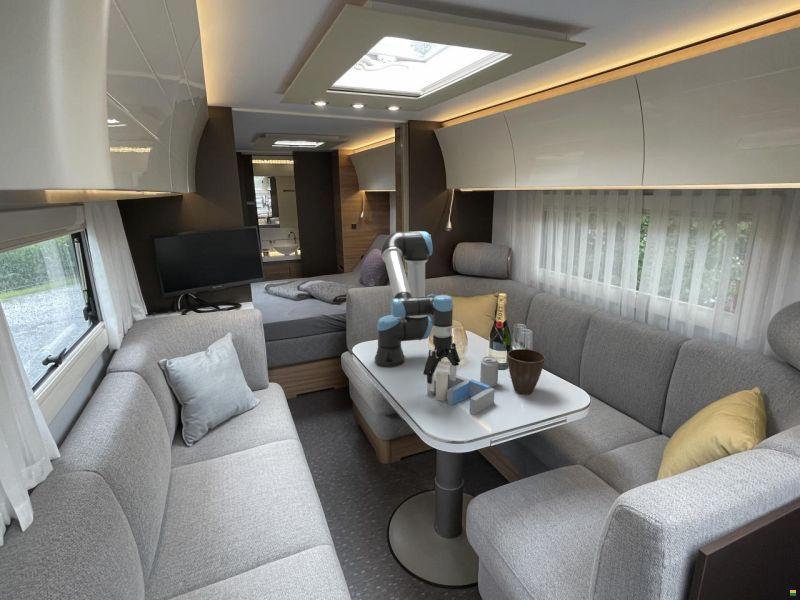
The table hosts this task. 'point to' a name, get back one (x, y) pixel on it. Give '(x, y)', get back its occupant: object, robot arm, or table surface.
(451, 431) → the table surface
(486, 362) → the can
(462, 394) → the folding screen
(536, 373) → the plant pot
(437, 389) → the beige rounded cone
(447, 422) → the table surface
